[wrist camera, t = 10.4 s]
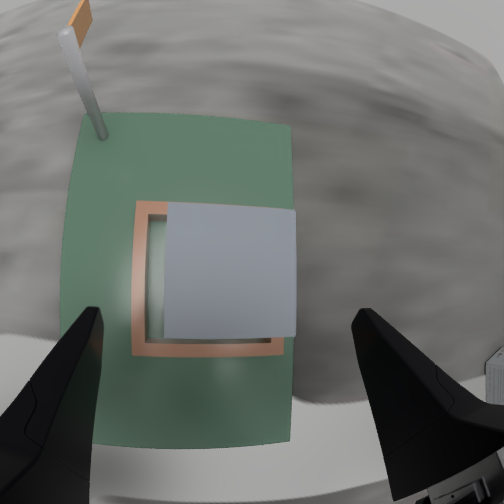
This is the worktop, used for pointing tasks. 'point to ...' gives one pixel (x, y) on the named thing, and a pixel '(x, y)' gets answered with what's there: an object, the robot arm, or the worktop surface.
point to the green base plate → (153, 270)
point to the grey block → (229, 272)
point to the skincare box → (495, 378)
